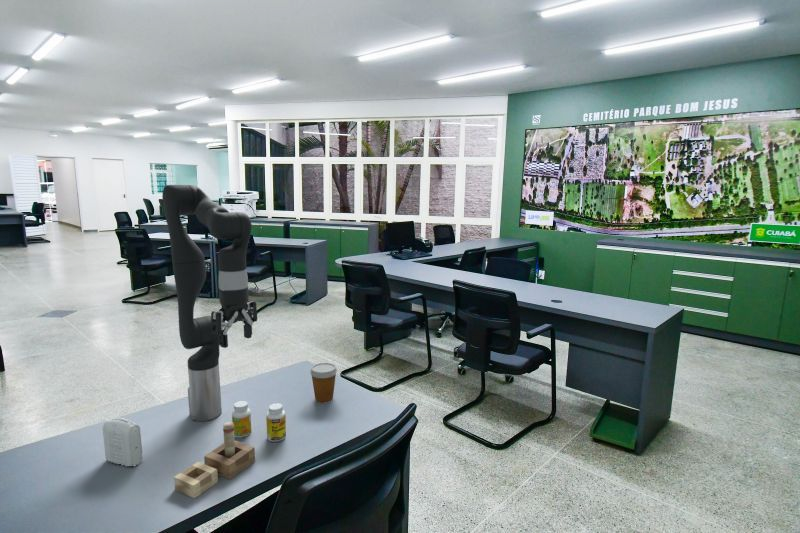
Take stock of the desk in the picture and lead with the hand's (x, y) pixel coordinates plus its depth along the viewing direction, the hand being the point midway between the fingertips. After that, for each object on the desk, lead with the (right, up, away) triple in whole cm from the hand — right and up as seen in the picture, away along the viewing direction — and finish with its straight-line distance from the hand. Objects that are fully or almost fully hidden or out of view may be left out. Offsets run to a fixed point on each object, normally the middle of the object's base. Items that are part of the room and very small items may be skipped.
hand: (236, 342), depth 122 cm
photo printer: (-30, -32, -2) cm, 44 cm away
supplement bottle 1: (-3, -30, +12) cm, 33 cm away
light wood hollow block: (-6, -34, -12) cm, 37 cm away
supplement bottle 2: (+8, -31, +10) cm, 34 cm away
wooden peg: (0, -33, -3) cm, 33 cm away
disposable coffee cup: (+19, -27, +35) cm, 48 cm away
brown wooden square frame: (0, -33, -3) cm, 33 cm away
